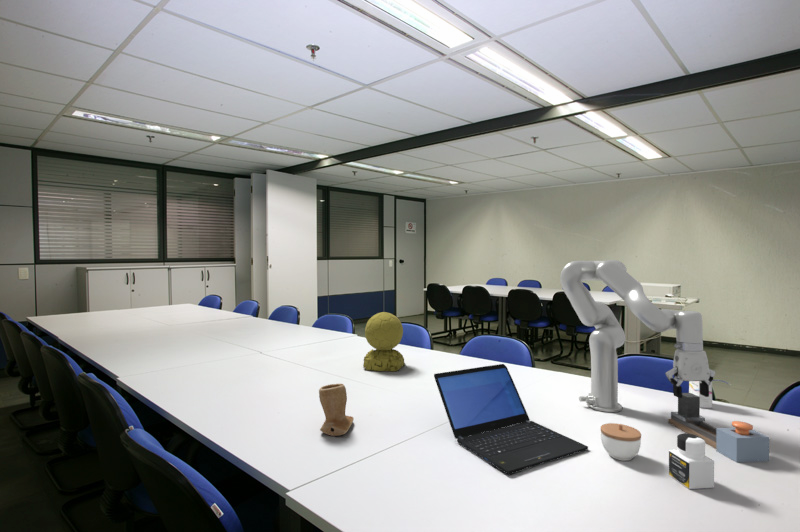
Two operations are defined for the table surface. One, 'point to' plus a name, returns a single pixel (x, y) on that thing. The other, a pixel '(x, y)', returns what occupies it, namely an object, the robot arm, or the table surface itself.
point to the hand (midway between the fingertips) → (691, 396)
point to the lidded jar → (620, 441)
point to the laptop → (498, 420)
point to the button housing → (742, 445)
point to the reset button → (742, 427)
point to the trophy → (383, 343)
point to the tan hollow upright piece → (334, 409)
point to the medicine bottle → (691, 463)
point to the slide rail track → (696, 429)
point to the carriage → (689, 409)
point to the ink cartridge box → (695, 389)
